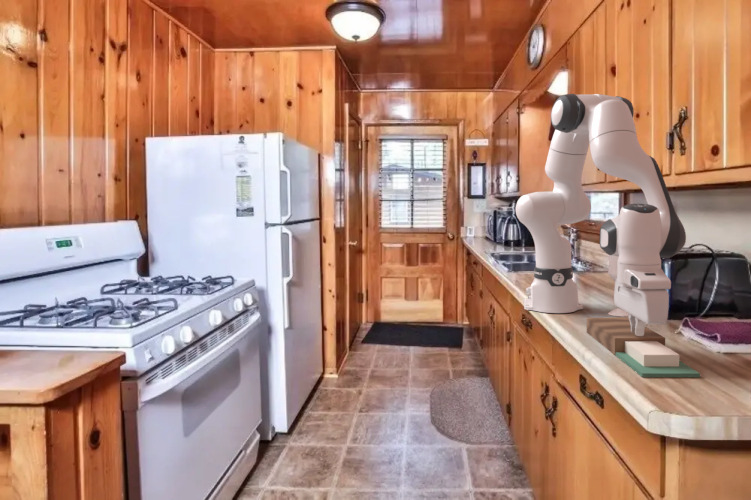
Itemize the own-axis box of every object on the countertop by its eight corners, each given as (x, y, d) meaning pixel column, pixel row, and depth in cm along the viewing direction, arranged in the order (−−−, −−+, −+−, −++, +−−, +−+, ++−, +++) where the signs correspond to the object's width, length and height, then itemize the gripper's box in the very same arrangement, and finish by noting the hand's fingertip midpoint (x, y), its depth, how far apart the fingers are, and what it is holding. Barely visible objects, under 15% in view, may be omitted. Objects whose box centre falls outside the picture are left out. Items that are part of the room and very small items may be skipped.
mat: (615, 355, 112) (615, 352, 112) (665, 355, 110) (666, 352, 110) (642, 377, 98) (642, 373, 98) (700, 377, 97) (700, 373, 96)
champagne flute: (602, 313, 153) (603, 237, 151) (618, 310, 155) (619, 236, 153) (620, 317, 147) (621, 238, 144) (636, 314, 149) (637, 237, 147)
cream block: (624, 351, 112) (624, 341, 111) (656, 351, 111) (657, 341, 110) (643, 366, 102) (643, 354, 101) (679, 366, 101) (679, 354, 101)
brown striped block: (586, 332, 132) (586, 317, 131) (628, 331, 131) (629, 317, 130) (614, 354, 112) (614, 338, 112) (664, 354, 111) (665, 337, 110)
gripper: (607, 269, 121) (606, 322, 122) (643, 283, 101) (641, 347, 102) (633, 268, 120) (632, 322, 122) (675, 282, 100) (673, 347, 102)
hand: (637, 334), depth 112 cm, fingers closed
